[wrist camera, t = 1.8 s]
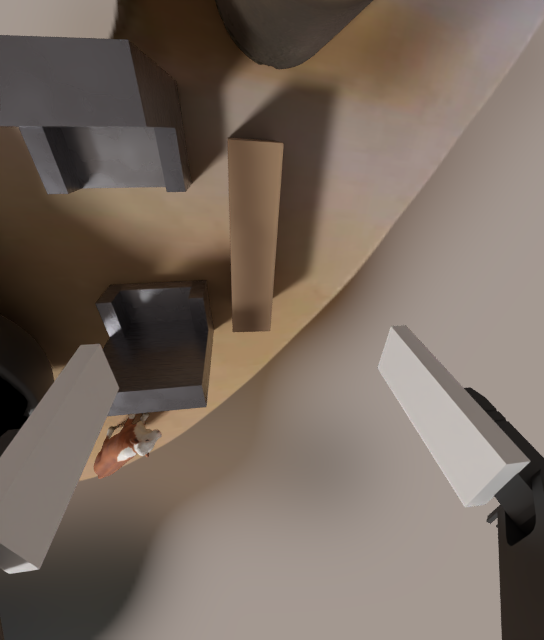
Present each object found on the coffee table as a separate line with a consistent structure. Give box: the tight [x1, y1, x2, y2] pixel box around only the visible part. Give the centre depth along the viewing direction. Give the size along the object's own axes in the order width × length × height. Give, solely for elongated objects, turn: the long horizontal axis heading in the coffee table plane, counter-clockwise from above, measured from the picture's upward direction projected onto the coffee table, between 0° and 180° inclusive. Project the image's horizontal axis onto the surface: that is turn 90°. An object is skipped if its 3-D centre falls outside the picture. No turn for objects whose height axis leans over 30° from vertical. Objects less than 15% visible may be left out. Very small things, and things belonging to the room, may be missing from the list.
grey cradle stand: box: [0, 35, 214, 416], centre depth 23 cm, size 10×24×12 cm, turn 0°
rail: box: [228, 138, 284, 332], centre depth 27 cm, size 4×17×6 cm, turn 176°
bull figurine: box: [94, 413, 162, 479], centre depth 40 cm, size 4×13×8 cm, turn 130°
